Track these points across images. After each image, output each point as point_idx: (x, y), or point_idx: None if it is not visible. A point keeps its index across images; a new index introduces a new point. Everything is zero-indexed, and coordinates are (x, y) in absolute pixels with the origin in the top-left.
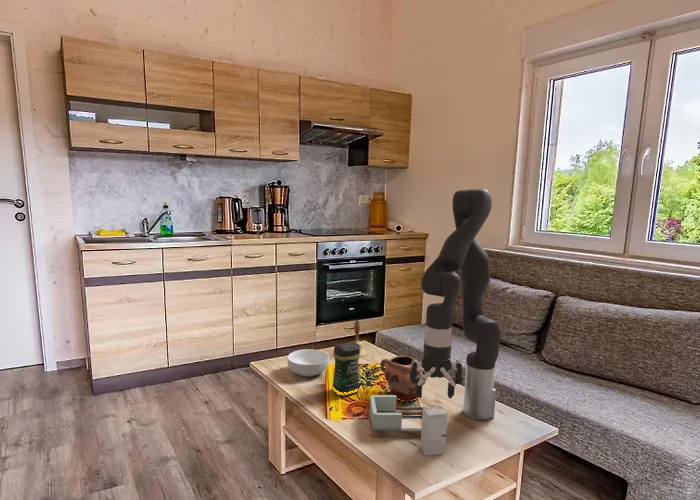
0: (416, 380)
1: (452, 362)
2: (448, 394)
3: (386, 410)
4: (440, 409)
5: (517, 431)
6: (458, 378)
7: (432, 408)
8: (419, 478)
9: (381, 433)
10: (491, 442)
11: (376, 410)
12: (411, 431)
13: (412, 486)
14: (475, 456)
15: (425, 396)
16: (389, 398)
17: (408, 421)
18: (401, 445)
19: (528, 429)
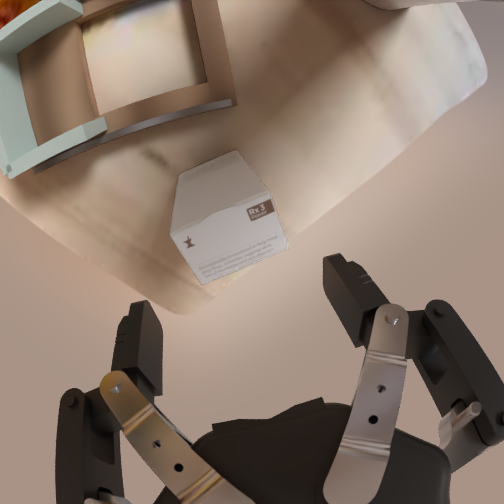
0: (121, 425)
1: (456, 469)
2: (329, 281)
3: (51, 30)
4: (261, 227)
5: (444, 71)
6: (426, 373)
7: (220, 227)
8: (188, 289)
9: (56, 163)
10: (384, 115)
11: (4, 147)
12: (141, 128)
13: (177, 311)
14: (330, 182)
15: None
16: (36, 18)
17: (133, 31)
18: (122, 178)
19: (461, 67)
